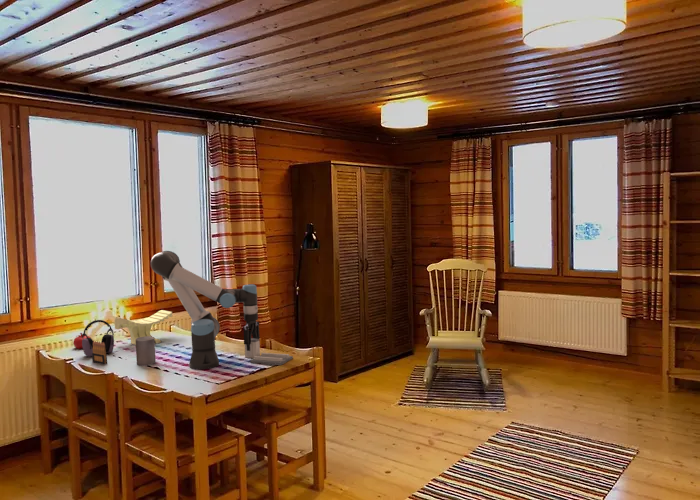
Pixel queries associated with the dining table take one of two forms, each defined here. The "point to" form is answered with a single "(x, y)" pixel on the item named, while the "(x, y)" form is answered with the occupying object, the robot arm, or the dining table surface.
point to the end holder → (272, 358)
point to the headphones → (107, 340)
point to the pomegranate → (79, 341)
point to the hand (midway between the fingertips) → (252, 354)
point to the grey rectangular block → (253, 348)
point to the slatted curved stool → (142, 325)
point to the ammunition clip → (99, 353)
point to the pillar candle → (145, 350)
